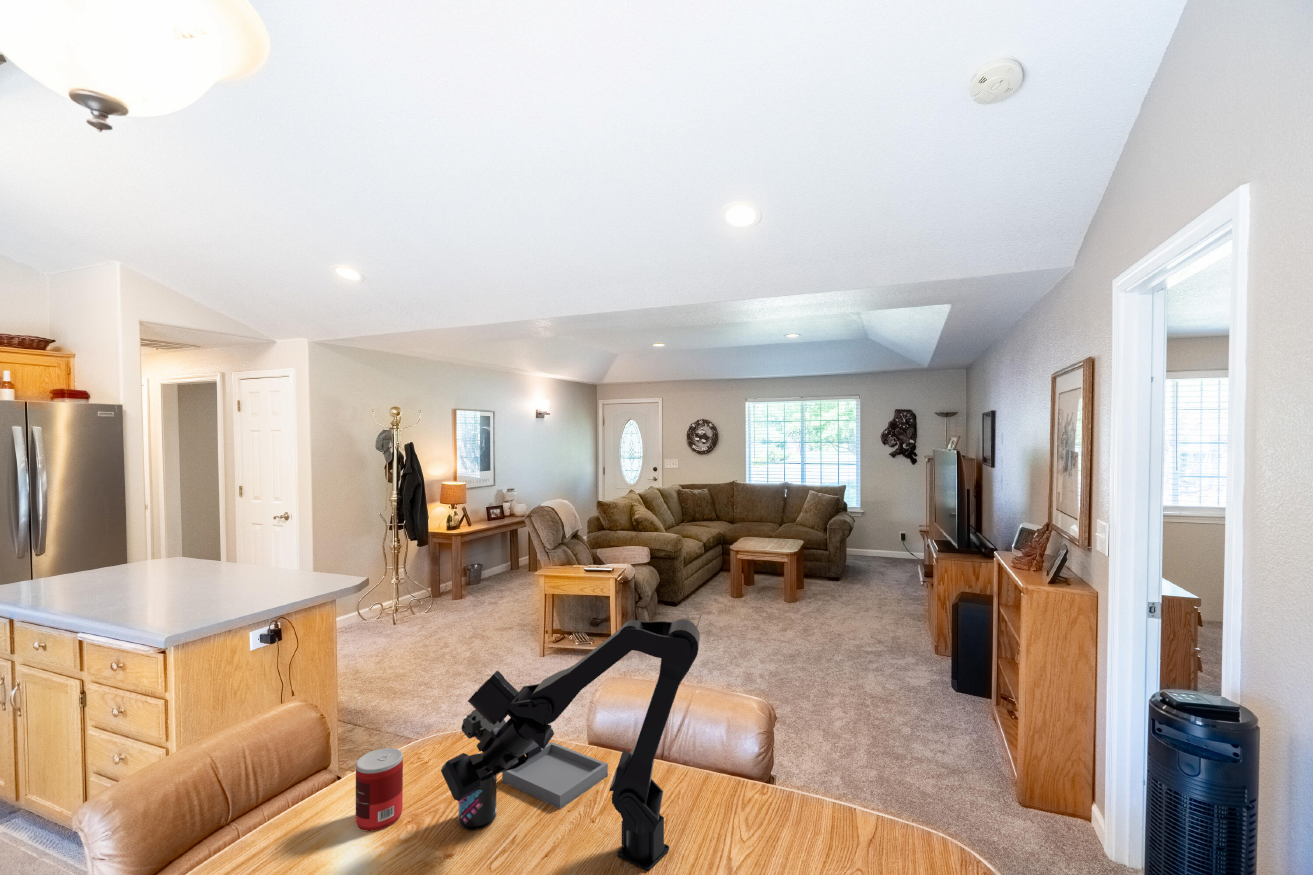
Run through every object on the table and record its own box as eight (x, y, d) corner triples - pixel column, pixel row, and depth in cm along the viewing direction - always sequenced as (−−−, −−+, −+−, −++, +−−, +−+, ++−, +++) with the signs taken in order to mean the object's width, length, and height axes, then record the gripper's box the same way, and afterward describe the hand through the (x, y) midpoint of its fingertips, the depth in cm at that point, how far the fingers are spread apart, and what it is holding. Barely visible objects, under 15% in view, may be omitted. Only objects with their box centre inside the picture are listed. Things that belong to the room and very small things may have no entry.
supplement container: (456, 813, 113) (456, 757, 113) (493, 805, 116) (494, 750, 116) (459, 835, 107) (460, 775, 107) (499, 826, 109) (499, 767, 110)
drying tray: (607, 775, 126) (607, 763, 126) (560, 809, 115) (560, 795, 115) (551, 753, 135) (551, 741, 135) (502, 781, 124) (502, 769, 124)
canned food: (410, 806, 115) (410, 748, 115) (387, 833, 107) (388, 770, 107) (371, 804, 116) (372, 746, 116) (346, 831, 108) (346, 768, 108)
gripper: (531, 679, 117) (492, 722, 123) (448, 715, 102) (408, 762, 108) (561, 732, 112) (519, 774, 119) (479, 778, 97) (435, 823, 103)
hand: (472, 780), depth 112 cm, fingers closed on supplement container, 7 cm apart
